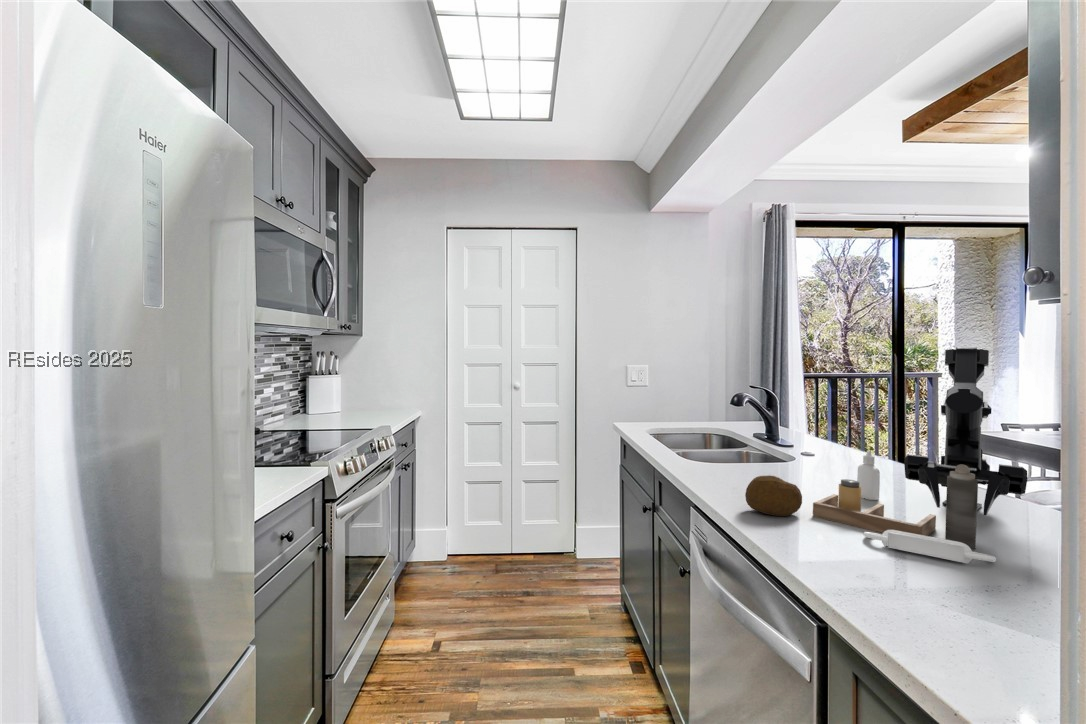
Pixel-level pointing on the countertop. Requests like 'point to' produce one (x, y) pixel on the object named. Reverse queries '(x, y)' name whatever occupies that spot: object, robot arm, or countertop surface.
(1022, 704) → the countertop surface
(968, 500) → the pepper mill
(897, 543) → the rolling pin
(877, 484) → the eye dropper bottle
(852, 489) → the amber jar
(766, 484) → the potato
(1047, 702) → the countertop surface
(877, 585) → the countertop surface
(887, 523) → the slot rack
